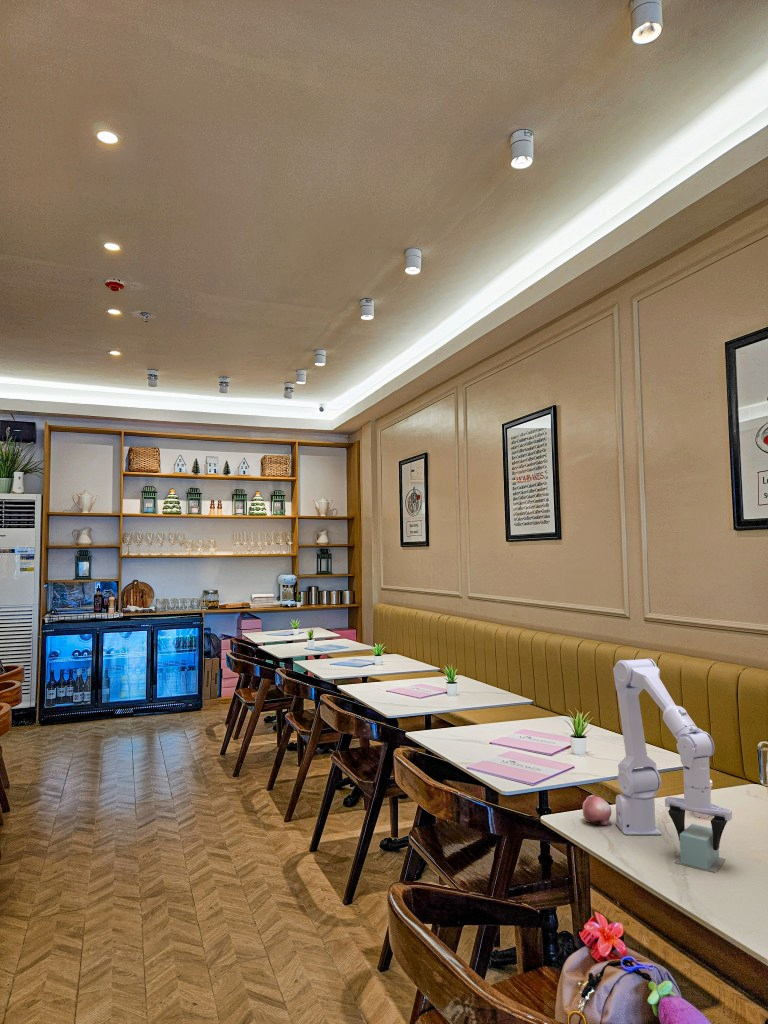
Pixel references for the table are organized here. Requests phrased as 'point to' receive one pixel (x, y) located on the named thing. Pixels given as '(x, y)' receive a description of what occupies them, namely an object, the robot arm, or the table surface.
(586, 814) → the onion
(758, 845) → the table surface
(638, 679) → the robot arm
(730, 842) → the table surface
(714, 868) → the tape square
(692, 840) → the light blue upright block
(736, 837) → the table surface
